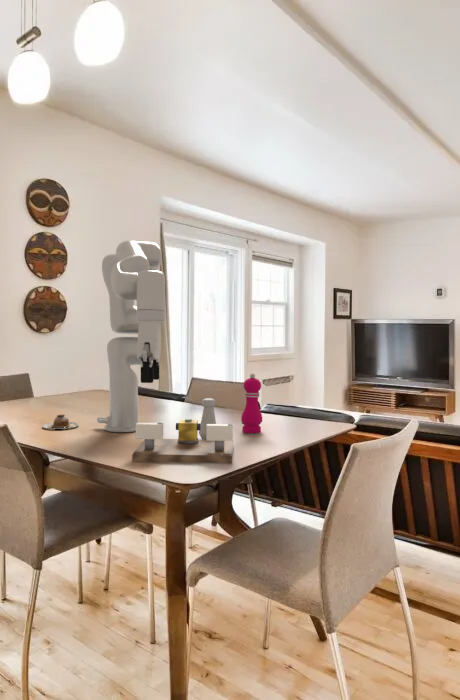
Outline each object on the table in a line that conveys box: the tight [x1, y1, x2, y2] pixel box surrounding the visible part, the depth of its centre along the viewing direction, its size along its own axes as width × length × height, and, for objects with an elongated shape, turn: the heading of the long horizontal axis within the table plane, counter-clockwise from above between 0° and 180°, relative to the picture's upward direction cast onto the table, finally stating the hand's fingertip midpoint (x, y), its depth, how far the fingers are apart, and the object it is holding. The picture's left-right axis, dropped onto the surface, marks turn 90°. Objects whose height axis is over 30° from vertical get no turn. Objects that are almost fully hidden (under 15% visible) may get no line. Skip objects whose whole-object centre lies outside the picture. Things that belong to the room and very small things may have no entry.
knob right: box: [206, 423, 234, 451], centre depth 136 cm, size 7×3×7 cm, turn 89°
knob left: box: [135, 422, 164, 450], centre depth 136 cm, size 7×3×7 cm, turn 89°
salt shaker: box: [198, 397, 217, 440], centre depth 158 cm, size 6×6×13 cm
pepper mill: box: [241, 373, 263, 434], centre depth 171 cm, size 7×7×20 cm
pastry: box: [42, 414, 80, 431], centre depth 175 cm, size 12×12×5 cm
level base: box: [131, 418, 234, 464], centre depth 140 cm, size 26×19×9 cm
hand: (150, 381), depth 135 cm, fingers open, 9 cm apart
